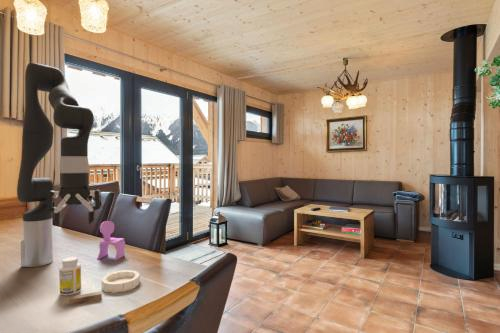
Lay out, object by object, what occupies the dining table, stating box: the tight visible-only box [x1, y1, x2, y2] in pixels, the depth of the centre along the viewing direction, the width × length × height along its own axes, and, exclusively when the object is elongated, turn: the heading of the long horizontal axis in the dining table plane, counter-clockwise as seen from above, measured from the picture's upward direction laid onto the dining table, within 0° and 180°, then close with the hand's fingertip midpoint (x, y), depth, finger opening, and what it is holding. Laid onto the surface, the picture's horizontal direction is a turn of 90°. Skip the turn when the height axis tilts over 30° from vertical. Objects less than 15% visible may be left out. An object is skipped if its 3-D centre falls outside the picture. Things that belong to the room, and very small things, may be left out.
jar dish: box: [101, 269, 141, 294], centre depth 94 cm, size 11×11×3 cm
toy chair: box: [96, 220, 126, 262], centre depth 120 cm, size 8×9×15 cm
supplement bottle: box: [58, 256, 82, 297], centre depth 88 cm, size 6×6×10 cm
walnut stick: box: [68, 290, 103, 306], centre depth 83 cm, size 8×2×2 cm, turn 116°
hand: (75, 224), depth 89 cm, fingers open, 8 cm apart
